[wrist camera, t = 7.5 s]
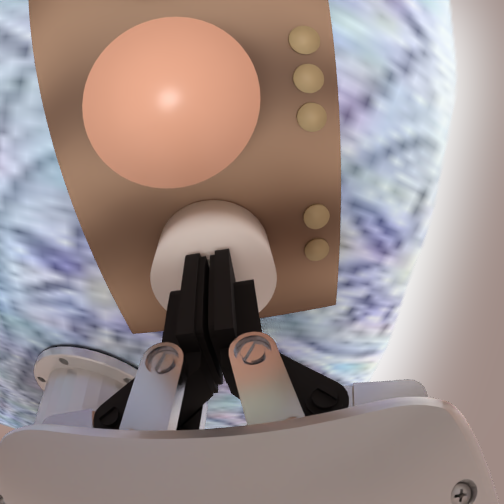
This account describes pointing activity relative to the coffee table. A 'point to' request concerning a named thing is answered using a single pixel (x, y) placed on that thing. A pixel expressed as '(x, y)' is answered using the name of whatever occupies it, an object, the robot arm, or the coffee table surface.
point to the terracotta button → (171, 102)
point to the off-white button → (214, 247)
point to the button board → (234, 175)
